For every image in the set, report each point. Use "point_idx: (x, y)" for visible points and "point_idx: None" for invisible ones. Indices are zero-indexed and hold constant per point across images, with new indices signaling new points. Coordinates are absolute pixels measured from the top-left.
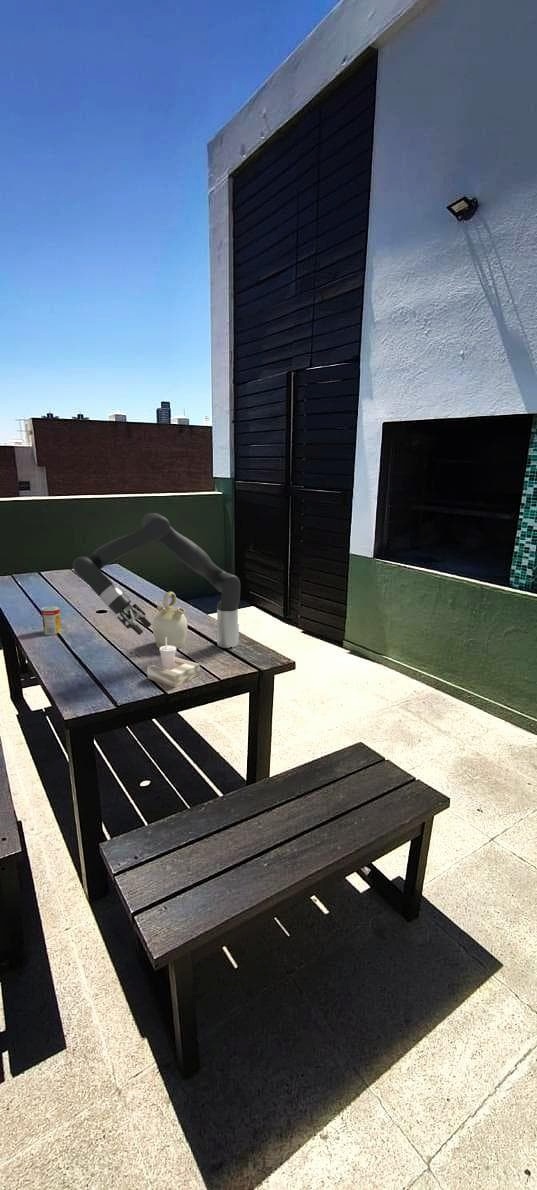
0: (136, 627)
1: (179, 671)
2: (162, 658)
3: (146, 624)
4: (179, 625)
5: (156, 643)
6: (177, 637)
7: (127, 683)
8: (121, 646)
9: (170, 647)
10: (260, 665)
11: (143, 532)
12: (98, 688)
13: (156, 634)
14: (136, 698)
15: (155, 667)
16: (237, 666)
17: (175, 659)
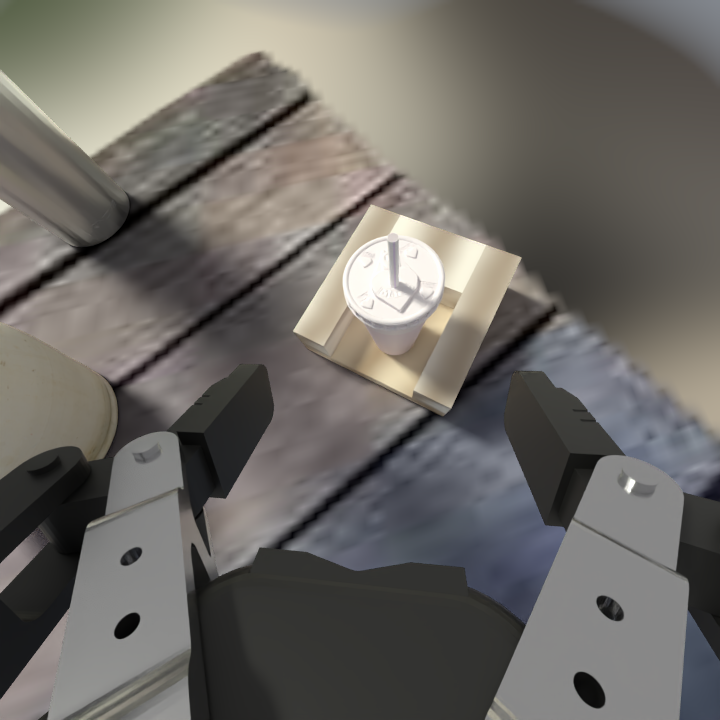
0: (605, 440)
1: (464, 255)
2: (423, 323)
3: (256, 415)
4: None
5: None
6: (67, 364)
7: (514, 493)
8: (40, 705)
9: (385, 263)
10: (280, 97)
11: None
12: None
13: None
14: (647, 401)
15: (442, 368)
16: (291, 149)
17: (331, 308)
